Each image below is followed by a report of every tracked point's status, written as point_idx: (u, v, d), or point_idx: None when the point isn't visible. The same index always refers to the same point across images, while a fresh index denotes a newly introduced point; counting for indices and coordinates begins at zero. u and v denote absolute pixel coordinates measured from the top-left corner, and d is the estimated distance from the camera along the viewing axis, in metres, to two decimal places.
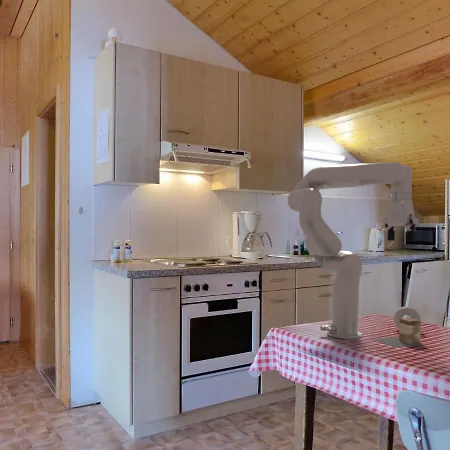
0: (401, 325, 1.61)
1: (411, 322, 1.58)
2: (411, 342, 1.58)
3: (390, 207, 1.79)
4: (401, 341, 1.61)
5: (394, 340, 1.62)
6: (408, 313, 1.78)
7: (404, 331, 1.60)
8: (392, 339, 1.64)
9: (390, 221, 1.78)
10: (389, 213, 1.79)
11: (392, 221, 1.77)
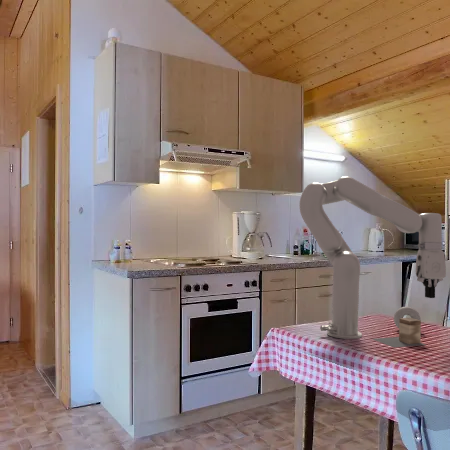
0: (401, 325, 1.61)
1: (411, 322, 1.58)
2: (411, 342, 1.58)
3: (429, 258, 1.60)
4: (401, 341, 1.61)
5: (394, 340, 1.62)
6: (408, 313, 1.78)
7: (404, 331, 1.60)
8: (392, 339, 1.64)
9: (430, 274, 1.60)
10: (428, 265, 1.60)
11: (432, 274, 1.61)
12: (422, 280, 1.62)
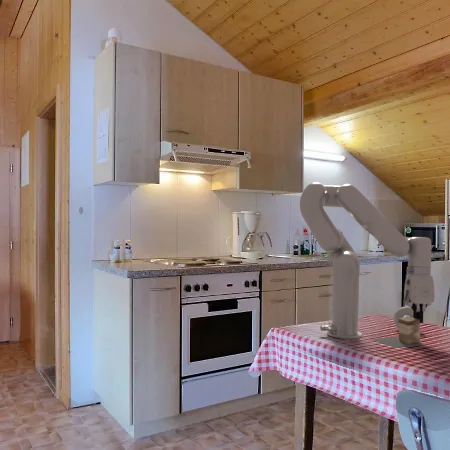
0: (401, 325, 1.61)
1: (410, 322, 1.58)
2: (411, 342, 1.58)
3: (418, 283, 1.59)
4: (401, 341, 1.61)
5: (394, 340, 1.62)
6: (408, 313, 1.78)
7: (403, 331, 1.60)
8: (392, 339, 1.64)
9: (418, 299, 1.59)
10: (417, 290, 1.59)
11: (421, 299, 1.59)
12: (410, 305, 1.60)
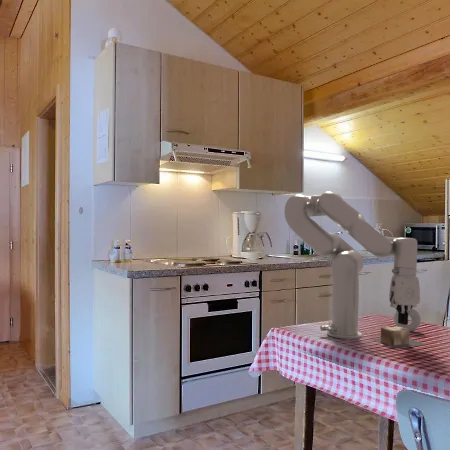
0: None
1: (391, 342, 1.55)
2: (407, 341, 1.58)
3: (403, 284, 1.57)
4: None
5: None
6: (408, 313, 1.78)
7: None
8: None
9: (403, 300, 1.57)
10: (402, 291, 1.57)
11: (406, 300, 1.57)
12: (395, 306, 1.58)
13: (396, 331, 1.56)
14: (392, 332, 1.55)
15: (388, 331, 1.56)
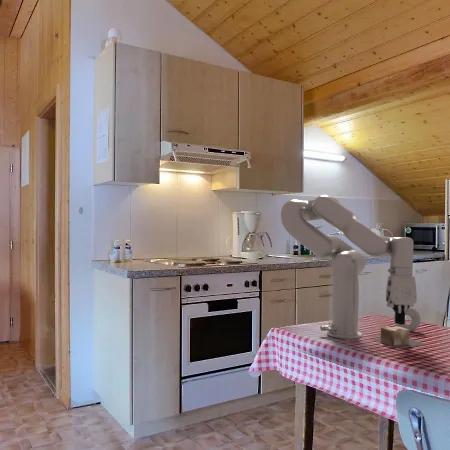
0: None
1: (391, 342, 1.55)
2: (407, 341, 1.58)
3: (399, 284, 1.56)
4: None
5: None
6: (408, 313, 1.78)
7: None
8: None
9: (400, 300, 1.56)
10: (398, 291, 1.56)
11: (402, 300, 1.56)
12: (392, 306, 1.58)
13: (396, 331, 1.56)
14: (392, 332, 1.55)
15: (388, 331, 1.56)
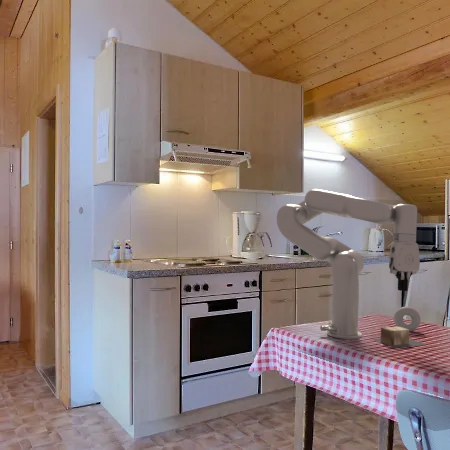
0: None
1: (391, 342, 1.55)
2: (407, 341, 1.58)
3: (402, 250, 1.57)
4: None
5: None
6: (408, 313, 1.78)
7: None
8: None
9: (403, 266, 1.57)
10: (401, 257, 1.57)
11: (405, 266, 1.57)
12: (395, 272, 1.58)
13: (396, 331, 1.56)
14: (392, 332, 1.55)
15: (388, 331, 1.56)
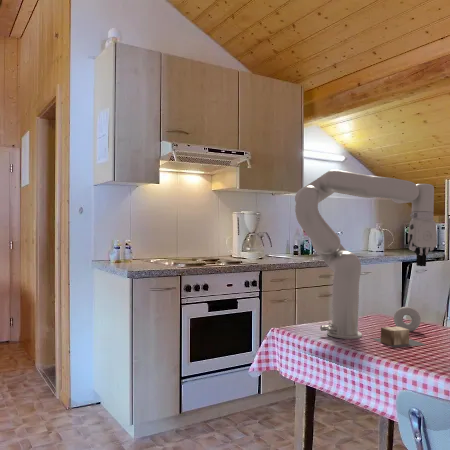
0: None
1: (391, 342, 1.55)
2: (407, 341, 1.58)
3: (421, 227, 1.65)
4: None
5: None
6: (408, 313, 1.78)
7: None
8: None
9: (421, 242, 1.65)
10: (420, 233, 1.65)
11: (424, 242, 1.66)
12: (414, 248, 1.67)
13: (396, 331, 1.56)
14: (392, 332, 1.55)
15: (388, 331, 1.56)
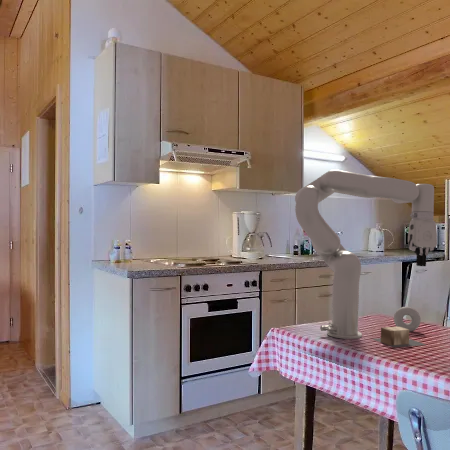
0: None
1: (391, 342, 1.55)
2: (407, 341, 1.58)
3: (421, 227, 1.65)
4: None
5: None
6: (408, 313, 1.78)
7: None
8: None
9: (421, 242, 1.65)
10: (420, 233, 1.65)
11: (424, 242, 1.66)
12: (414, 248, 1.67)
13: (396, 331, 1.56)
14: (392, 332, 1.55)
15: (388, 331, 1.56)
